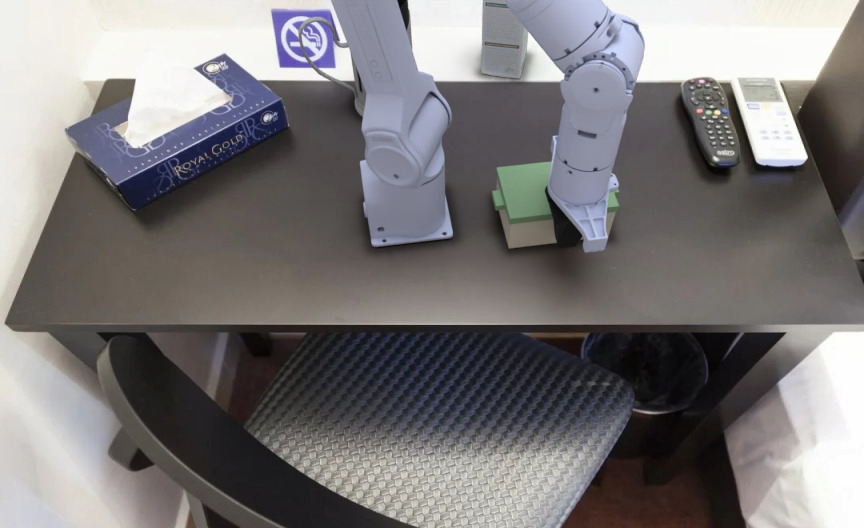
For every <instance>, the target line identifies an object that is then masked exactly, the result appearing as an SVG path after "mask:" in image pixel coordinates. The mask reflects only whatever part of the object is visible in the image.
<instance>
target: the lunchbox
mask: <svg viewBox="0 0 864 528" xmlns="http://www.w3.org/2000/svg"><path fill="white" fill-rule="evenodd" d="M551 162H552V160H550V161H543V162H542V161H541V162H534V163H525V164H516V165H515V164H513V165H506V166H497V167H496V168H495V170H496V171H495V175H496V190H492V191H491V198H492V202H493V205H494V206H493V207H494V210H495V211H498V213H499V217H500V220H501V224H502V227H503V232H504V236H505V241H506V244H507V247H508V249H515V248H525V247H533V246H541V245H549V244H550V245H551V244H557V241H556V238H555V233H554V222H553V217H552V213H551V210H550V207H549V203H548V201H547V197H546V194H545V188H546V186H548V179H549V174H550V168H551ZM619 195H620V190H619V189H618V190H617V191H615V192H610V193H609V196H608V206H607V216H606V232H607V236H608V237H609V236H610V233H611V229H612V226H613V223H614V220H615V216H616V213H618V212H619V208H620V204H619V201H618V199H617V198H618V197H619ZM581 240H582V241H584V237H582V238H581ZM581 240H580V241H581Z"/></svg>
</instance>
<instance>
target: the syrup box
mask: <svg viewBox="0 0 864 528" xmlns="http://www.w3.org/2000/svg"><path fill="white" fill-rule="evenodd" d="M481 11H482V14H481V15H482V16H481V17H482V18H481V65H480V66H481V67H480V68H481V74H483V75H489V76H494V77H501V78H510V79H518V80H520V78H521V76H522V73H523V69H524V66H525V63H526V58H527V56H528V55H527V53H528V40H529V32H528V31H527V29H526V28H525V27H524V26H523V24H522V23H521V22H520V21H519V20H518V19H517V17H516V16H515V15H514V14H513V12H512V11H511V10H510V9H509V7H508V6H507V5H506V0H482V10H481Z"/></svg>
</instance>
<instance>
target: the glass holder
mask: <svg viewBox="0 0 864 528" xmlns="http://www.w3.org/2000/svg"><path fill="white" fill-rule="evenodd" d="M397 2H398V5H399V8H400V12H401V15H402V18H403V21H404V25H405V28H406V31H407V35H408V38H409V41H410V45H411V48H412V49H413V36H412V20H411V19H412V18H411V11H410V8H409V0H397ZM316 22H317V23H322V24H324V25H326V26H327V27H328V28H329V29H330V31H331V34H332V38H333V41H334V44H335V45H336V47H339V48H341V49H347V48H348V49H349V47H348V44H347V42H339V41H338V38H337V33H336V30H335V28H334V26H333V24H332V23H331V22H330V20H328V19H326V18H324V17H322V16H312V17H309V18H307V19H305V20H304V21H303V22H302V23H300V26H299V28H298V31H297V33H298V42H299V46H300V50H301V52H302V55H303V57H304V58H305V60H306V61H307V64H309V66H310V67H311V68H312V69H313V70H314V71H315V72H316V73H317V74H318V75H319V76H322V77H323V78H324V79H326V80H328V81H330V82H332V83H334V84H335V85H338V86H341V87H343V88H345V89H347V90H349V91H351V92H352V93H353V95H354V98H355V99H354V107H355V111H356V112H357V113H358V115H359V116H360V117H362V118H363V114H364V108H365V102H366V91H365V88H364V86H363V83H362V81H361V78H360V75H359V73H358V70H357V67H356V65H355V62H354V60H353V57H352V54H351V52H350V51H349V53H350V59H351V66H352V72H353V79H354V86H355V87H353V86H352V85H350V84H348V83H346V82H344V81H342V80H340V79H338V78H335V77H333V76H332V75H330V74H328V73H326V72H324V71H323V70H321V69H320V68H319V67H318V66H317V65H316V64H315V63H314V62H313V60H311V58H310V57H309V55H308V53H307V51H306V49H305V46H304V43H303V31H304V29H305V28H306V27H307V26H308V25H310V24H312V23H316Z"/></svg>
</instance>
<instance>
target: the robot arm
mask: <svg viewBox="0 0 864 528" xmlns="http://www.w3.org/2000/svg"><path fill="white" fill-rule="evenodd" d="M330 2H331V5H332V7H333V10H334V13H335V15H336V18H337V20H338V23H339V26H340V28H341V31H342V33H343V36H344V39H345V41H346V43H347V44H348V49H349V53H350V52H351V53H350V55H351V54H352V57H353V60H354V62H355V65H356V67H357V70H358V73H359V75H360V78H361V81H362V83H363V86H364V88H365V91H366V102H365V108H364V114H363V117H362V121H361V133H362V135H363V138H364V142H365V150H364V158H365V159H363V160H360V161H359V168H360V175H361V184H362V190H363V191H362V192H363V197H364V199H363V200H364V201H363V202H362V205H363V214H364V218H367V223H368V229H369V235H370V242H371V246H372V247H374V248H379V247H388V246H394V245H395V246H396V245H404V244H412V243H421V242H429V241H430V242H431V241H438V240H447V239H451V238H453V237H454V232H453V227H452V221H451V220H452V219H451V215H450V211H449V206H448V201H447V196H446V195H447V194H446V169H445V168H446V166H445V165H446V164H445V162H446V161H445V152H444V148H443V136H444V134H445V132H448V129H449V127H450V126H451V123H452V119H453V113H452V109H451V106H450V105H449V103H448V101H447V100H446V99H445V97H444V96H443V95H442V94H441V92H440V91H439V90H438V87H437V85H436V83H435V78H434V76H433V75H432V74H430V73H427V72H424V71H420V70H419V68H418V65H417V61H416V58H415V55H414V51H413V47H412V48H411V45H410V41H409V38H408V35H407V31H406V28H405V25H404V21H403V18H402V15H401V12H400V8H399V5H398V2H397V0H330ZM506 5H507V6H508V7H509V9H510V10H511V11H512V12H513V14H514V15H515V16H516V17H517V19H518V20H519V21H520V22H521V23H522V24H523V26H524V27H525V28H526V29H527V31H528V34H529V35H530V36H531V37H532V38H533V39H534V41H535V42H536V43H537V45H538V46H539V47H540V48H541V49H542V50H543V52H544V54H546V56H547V57H548V58H549V59H550V60H551V62H552V63H553V64H554V65H555V66H556V67H557V68H558V69H559V70H560V72H561V73H562V74H563V75H564V76H563V79H561V80H560V83H559V87H560V93H561V96H562V98H563V100H564V103H563V106H562V109H561V115H560V122H559V127H558V133H557V135H552V137H551V143H550V152H551V155H552V157H551V161H552V162H551V161H550V162H551V168H550V174H549V179H548V186H546V188H545V194H546V197H547V201H548V203H549V207H550V210H551V213H552V217H553V222H554V233H555V238H556V241H557V243H556V245H557V248H558V249H568V248H575V247H577V245H578V244H579V242H580V241H581V238H582V237H584V239H583V240H582V241H583V242H582V249H583V252H584V253H585V254H587V253H596V252H603V251H605V249H606V246H607V243H608V240H609V236H607V232H606V216H607V206H608V196H609V193H610V192H615V191H617V190H619V187H620V183H619V181H618V178H617V175H616V174H614V173H612V172H613V169H614V165H615V163H616V159H617V155H618V152H619V147H620V143H621V140H622V136H623V132H624V128H625V126H626V121H627V116H628V115H627V113H628V110H629V107H630V105H631V103H632V101H633V99H634V95H633V93H634V89H635V87H636V83H637V80H638V77H639V73H640V71H641V67H642V64H643V61H644V57H645V49H646V43H645V39H644V35H643V33H642V32H641V30H640V26H639V23H638V22H637V21H636V20H634V19H632V18H631V17H629V16H627V15H626V14H625V15H624V14H621V13H616V12H614V11H613V10H611V9H610V8H609V7H608V5H606V3H604V1H603V0H506Z"/></svg>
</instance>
